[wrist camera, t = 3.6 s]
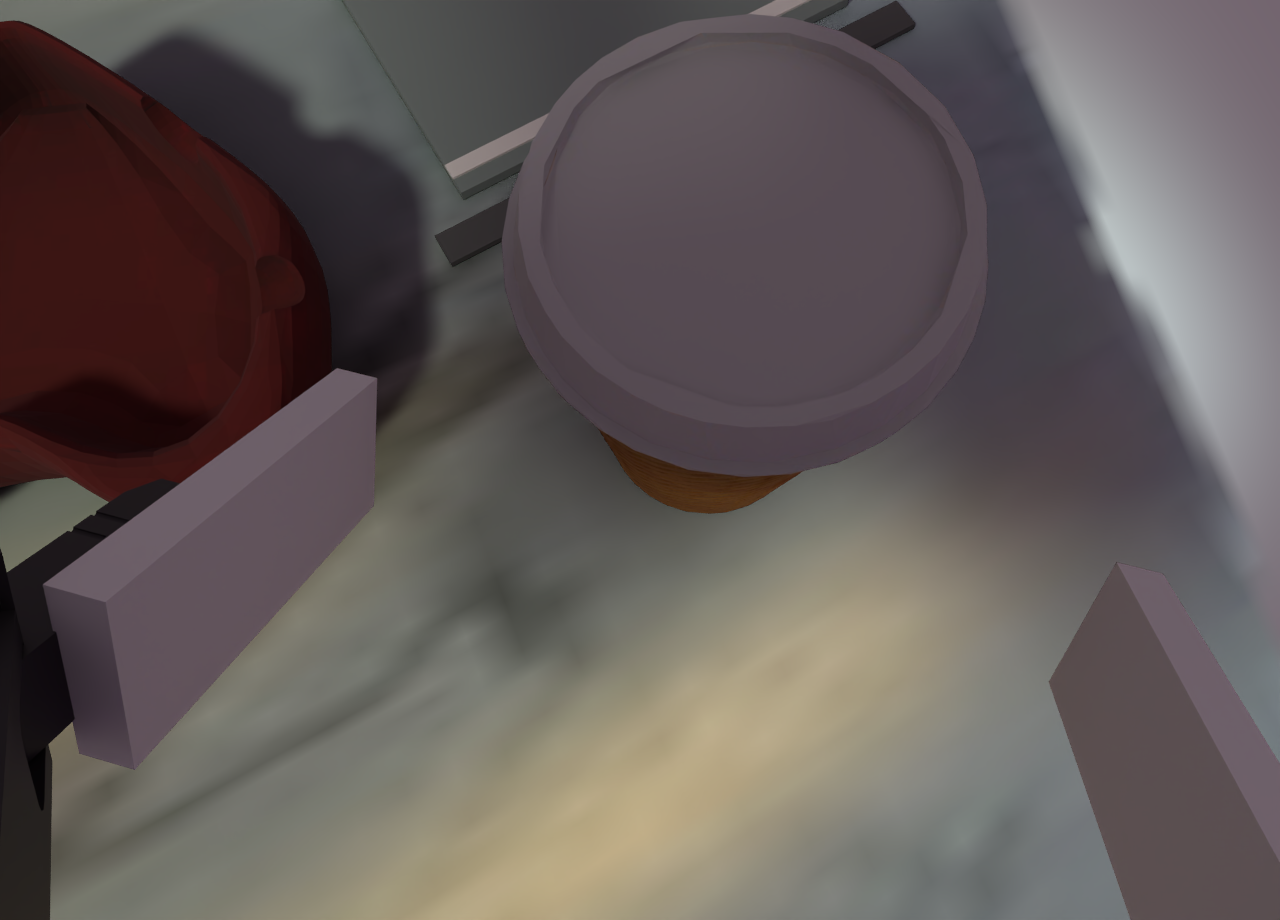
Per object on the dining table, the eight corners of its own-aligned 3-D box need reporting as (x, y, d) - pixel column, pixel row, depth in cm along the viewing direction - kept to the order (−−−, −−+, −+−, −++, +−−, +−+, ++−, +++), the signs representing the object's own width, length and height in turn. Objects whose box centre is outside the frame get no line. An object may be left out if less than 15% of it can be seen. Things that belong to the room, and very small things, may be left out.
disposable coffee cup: (845, 282, 28) (984, -8, 17) (865, 566, 26) (1046, 456, 14) (560, 282, 28) (503, -7, 17) (551, 566, 26) (475, 455, 14)
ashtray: (351, 90, 31) (297, -23, 26) (366, 527, 26) (303, 489, 22) (-148, 142, 30) (-298, 36, 25) (-220, 597, 26) (-418, 574, 21)
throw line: (436, 239, 29) (434, 235, 28) (894, 5, 31) (896, 0, 31) (452, 266, 28) (450, 263, 28) (913, 28, 31) (915, 23, 31)
